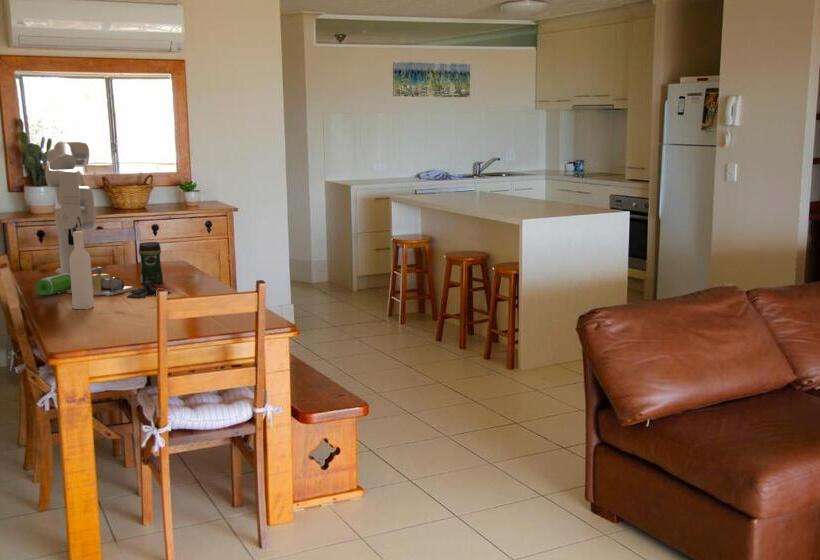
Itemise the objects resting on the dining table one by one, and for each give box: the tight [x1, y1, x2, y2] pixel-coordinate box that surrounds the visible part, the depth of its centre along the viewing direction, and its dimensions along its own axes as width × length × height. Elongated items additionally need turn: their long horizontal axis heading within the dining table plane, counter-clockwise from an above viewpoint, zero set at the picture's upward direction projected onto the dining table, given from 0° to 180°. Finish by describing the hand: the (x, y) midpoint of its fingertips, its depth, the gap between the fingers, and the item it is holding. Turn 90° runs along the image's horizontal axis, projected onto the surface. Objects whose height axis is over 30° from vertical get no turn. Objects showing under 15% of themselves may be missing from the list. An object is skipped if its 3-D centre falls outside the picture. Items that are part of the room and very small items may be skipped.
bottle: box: [69, 230, 95, 310], centre depth 341 cm, size 8×8×30 cm
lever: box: [91, 266, 104, 274], centre depth 371 cm, size 14×4×3 cm, turn 160°
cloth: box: [126, 281, 172, 299], centre depth 371 cm, size 22×19×6 cm
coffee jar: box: [138, 241, 164, 285], centre depth 395 cm, size 10×8×19 cm
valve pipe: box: [65, 273, 134, 297], centre depth 377 cm, size 23×16×7 cm
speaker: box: [35, 273, 71, 296], centre depth 375 cm, size 18×7×8 cm, turn 164°
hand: (73, 244), depth 369 cm, fingers closed
